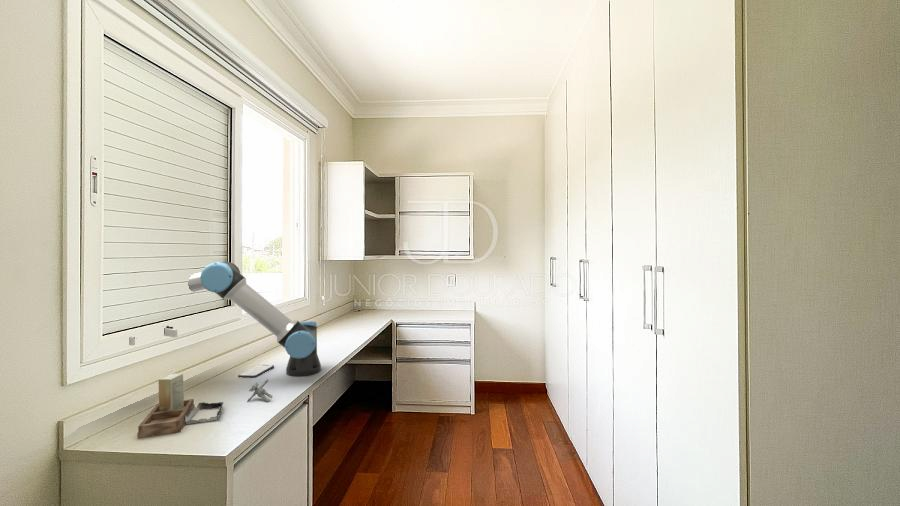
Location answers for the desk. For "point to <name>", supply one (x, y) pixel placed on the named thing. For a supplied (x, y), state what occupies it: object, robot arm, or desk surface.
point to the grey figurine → (260, 392)
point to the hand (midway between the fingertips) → (155, 337)
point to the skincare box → (171, 392)
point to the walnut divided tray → (165, 420)
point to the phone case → (256, 371)
